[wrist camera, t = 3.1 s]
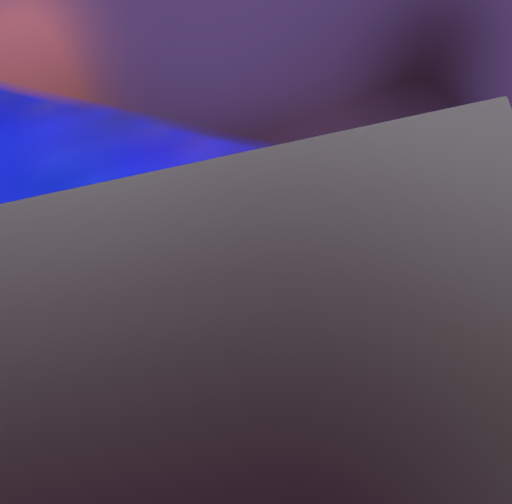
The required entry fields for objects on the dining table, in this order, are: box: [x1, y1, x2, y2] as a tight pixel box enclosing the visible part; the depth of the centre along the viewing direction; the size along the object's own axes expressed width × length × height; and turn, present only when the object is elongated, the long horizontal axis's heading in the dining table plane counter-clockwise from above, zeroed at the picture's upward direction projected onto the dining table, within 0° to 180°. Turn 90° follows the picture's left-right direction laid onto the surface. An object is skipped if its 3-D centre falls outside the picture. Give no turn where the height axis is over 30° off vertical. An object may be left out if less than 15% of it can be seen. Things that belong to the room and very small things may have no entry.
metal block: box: [0, 96, 512, 504], centre depth 9 cm, size 5×5×13 cm
